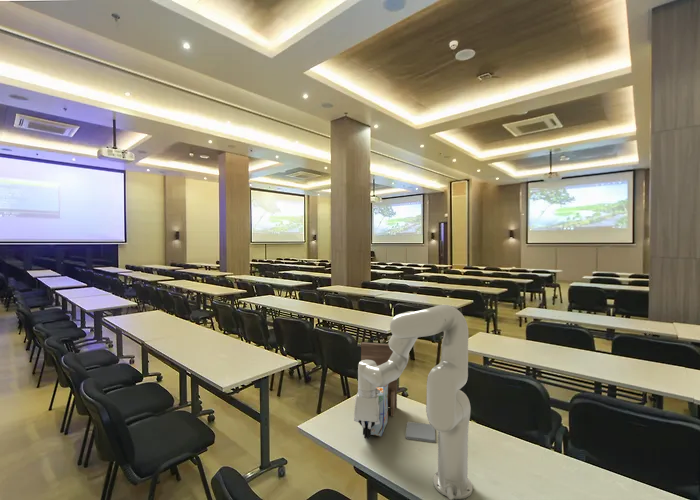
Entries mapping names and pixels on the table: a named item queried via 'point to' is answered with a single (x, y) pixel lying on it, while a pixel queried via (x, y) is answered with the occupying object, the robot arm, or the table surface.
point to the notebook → (420, 432)
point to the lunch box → (381, 412)
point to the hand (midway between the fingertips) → (366, 436)
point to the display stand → (380, 356)
